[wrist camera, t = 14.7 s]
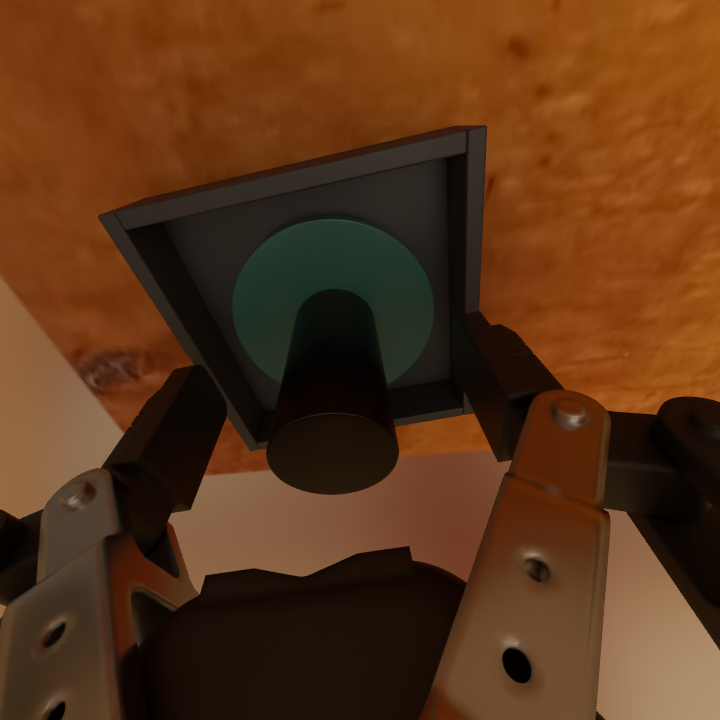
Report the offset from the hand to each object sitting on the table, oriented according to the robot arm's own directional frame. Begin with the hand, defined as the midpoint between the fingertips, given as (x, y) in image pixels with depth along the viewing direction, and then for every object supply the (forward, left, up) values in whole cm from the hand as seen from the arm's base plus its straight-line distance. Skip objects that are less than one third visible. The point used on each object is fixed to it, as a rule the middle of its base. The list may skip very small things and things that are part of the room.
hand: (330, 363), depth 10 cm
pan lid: (0, 0, -3) cm, 3 cm away
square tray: (0, 0, -4) cm, 4 cm away
